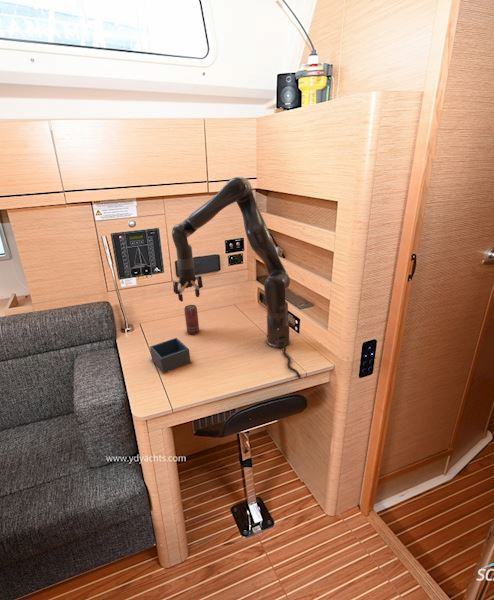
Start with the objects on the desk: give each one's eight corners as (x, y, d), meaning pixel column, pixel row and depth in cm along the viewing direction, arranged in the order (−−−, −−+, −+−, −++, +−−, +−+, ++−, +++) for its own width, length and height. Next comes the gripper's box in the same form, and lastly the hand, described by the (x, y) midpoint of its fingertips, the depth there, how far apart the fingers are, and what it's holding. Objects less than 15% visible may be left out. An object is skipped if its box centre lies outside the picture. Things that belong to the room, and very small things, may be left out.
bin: (190, 362, 142) (189, 348, 140) (163, 373, 136) (160, 359, 134) (178, 350, 152) (176, 337, 150) (152, 360, 146) (149, 346, 144)
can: (188, 336, 164) (185, 310, 159) (186, 330, 170) (183, 305, 165) (200, 334, 166) (197, 308, 160) (198, 328, 171) (195, 303, 166)
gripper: (175, 271, 149) (179, 305, 155) (203, 265, 155) (206, 297, 162) (168, 267, 155) (172, 300, 161) (195, 261, 161) (198, 293, 168)
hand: (189, 298), depth 161 cm, fingers open, 8 cm apart
